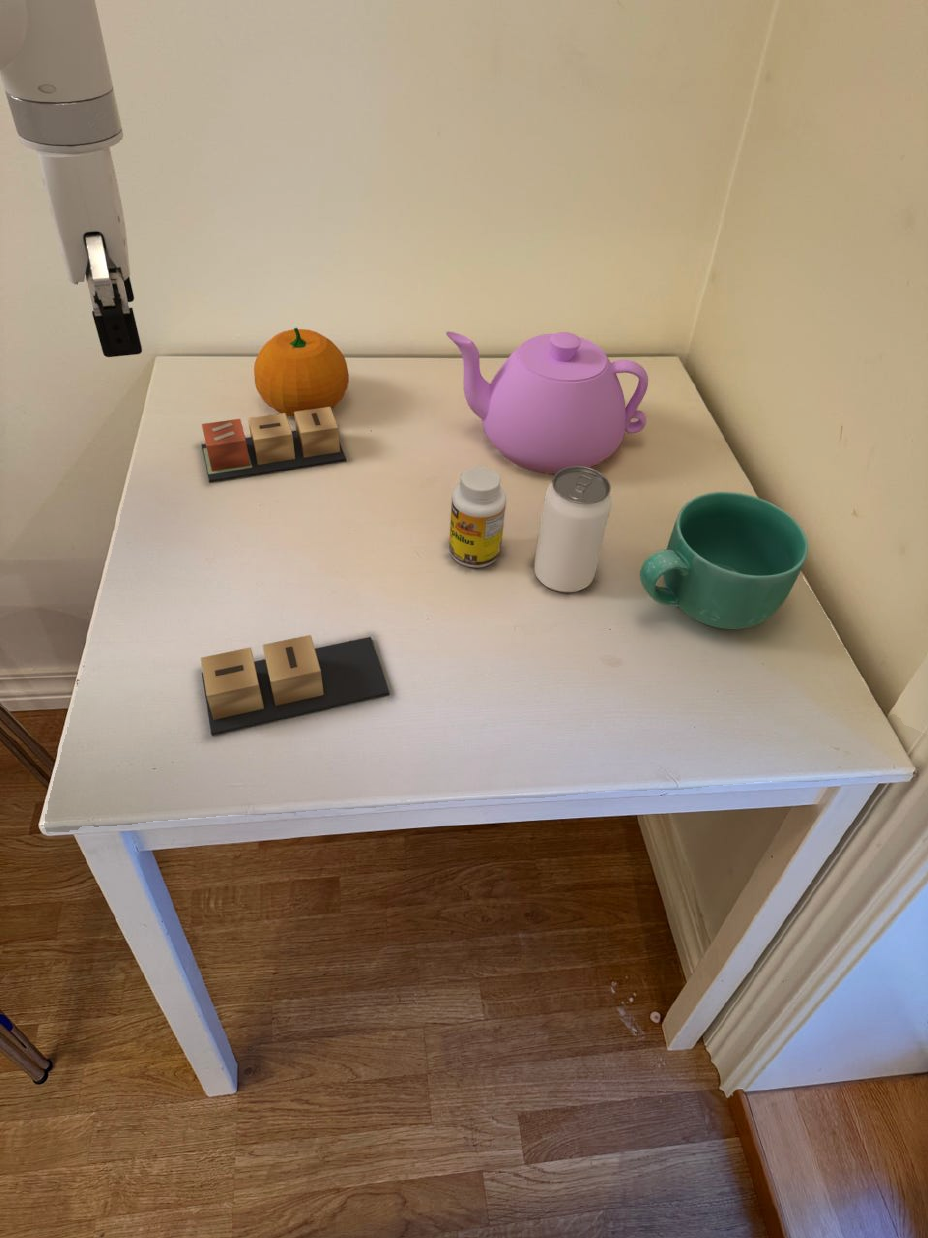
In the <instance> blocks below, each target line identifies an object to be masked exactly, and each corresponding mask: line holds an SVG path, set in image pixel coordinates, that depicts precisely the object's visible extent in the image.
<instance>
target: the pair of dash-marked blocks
mask: <svg viewBox="0 0 928 1238" xmlns="http://www.w3.org/2000/svg"><path fill="white" fill-rule="evenodd" d="M287 416H288V415H286V414H285V413H276V414H269V415H263V416H262V415H261V416H254V417H248V418H247V422H248V427H249V433H250V434H249V435H250V437H251V440H252V445H253V448H254V452H255V456H256V460H257V463H258V465H261V464H268V463H274V462H281V461H287V460H294V459H295V453H294V444H293V436H292V432H291V431H292V430H291V425H290V423H289V419H288V417H287ZM293 417H294V424H295V431H296V433H297V438H298V441H299V445H300V448H301V451H302V454H303V457H304V458H306V457H313V456H319V455H325V454H332V453H338V452H340V444H341V442H340V430H339V426H338V422H337V421H336V418H335V416H334V412H333V409H331V407H325V408H318V409H311V410H304V411H297V412H294V416H293ZM339 442H340V443H339Z"/></svg>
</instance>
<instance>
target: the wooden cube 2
mask: <svg viewBox="0 0 928 1238" xmlns="http://www.w3.org/2000/svg"><path fill="white" fill-rule="evenodd" d="M262 651H263V655H264V659H265V661H266V666H267V671H268V675H269V680H270V684H271V689H272V693H273V698H274V702H275V706H278V705H282V704H287V703H291V702H296V701H300V700H304V699H309V698H313V697H318V696H322V695H324V692H323V684H322V676H321V670H320V666H319V662H318V659H317V655H316V651H315V645H314V640H313V637H312V635H311V634H308V635H303V636H298V637H294V638H289V639H284V640H278V641H274V642H270V643H265V644H262Z"/></svg>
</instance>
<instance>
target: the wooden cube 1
mask: <svg viewBox="0 0 928 1238" xmlns="http://www.w3.org/2000/svg"><path fill="white" fill-rule="evenodd" d="M254 661H255V658H254V654H253V650H252V647H246V648H241V649H235V650H231V651H227V652H221V653H217V654H212V655H207V656H202V657H200V662H201V663H200V664H201V668H202V669H201V671H202V672H203V676H204V683H205V689H206V695H207V699H208V702H209V706H210V709H211V712H212V716H213V719H214V720H216V719H221V718H225V717H230V716H234V715H238V714H243V713H247V712H252V711H256V710H260V709H264V706H263V701H262V696H261V691H260V687H259V682H258V677H257V672H256V668H255V663H254Z"/></svg>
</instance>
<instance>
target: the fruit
mask: <svg viewBox="0 0 928 1238" xmlns="http://www.w3.org/2000/svg"><path fill="white" fill-rule="evenodd" d="M253 376H254V384H255V388H256V390H257V392H258V394H259V396H260V398H261V399H262V400H263V401H264V402H265V404H266V405H267V406H269V407H270V408H271V409H273V410H275V411H276V412H278V413H279V414H282V413H285V414H286V416H290V417H295V416H294V412H297V411H304V410H311V409H318V408H325V407H331V410H333V409H334V408H335V407H336V406H337V405H338V404H339V403H340V402H341V401H342V400H343V399H344V397H345V394H346V392H347V389H348V386H349V381H350V375H349V369H348V364H347V360H346V357H345V355H344V354H343V353H342V351H341V350H340V349H339V347H338V346H337V345H336V344H335V343H334V342H333V341H332V340H331V339H329V337H328V338H327V337H326V336H325V335H324V334H323V335H322V334H321V333H319V332H317V331H314V330H311V329H306V328H305V329H304V328H298V327H294V328H293V329H292V328H291V329H288V330H284V331H281V332H278V333H277V334H275V335H273V337H272V338H270V339H268V341H266V342H265V344H264V345H263V346H262V347H261V348H260V351H259V352H258V354H257V356H256V359H255V361H254V367H253Z"/></svg>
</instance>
